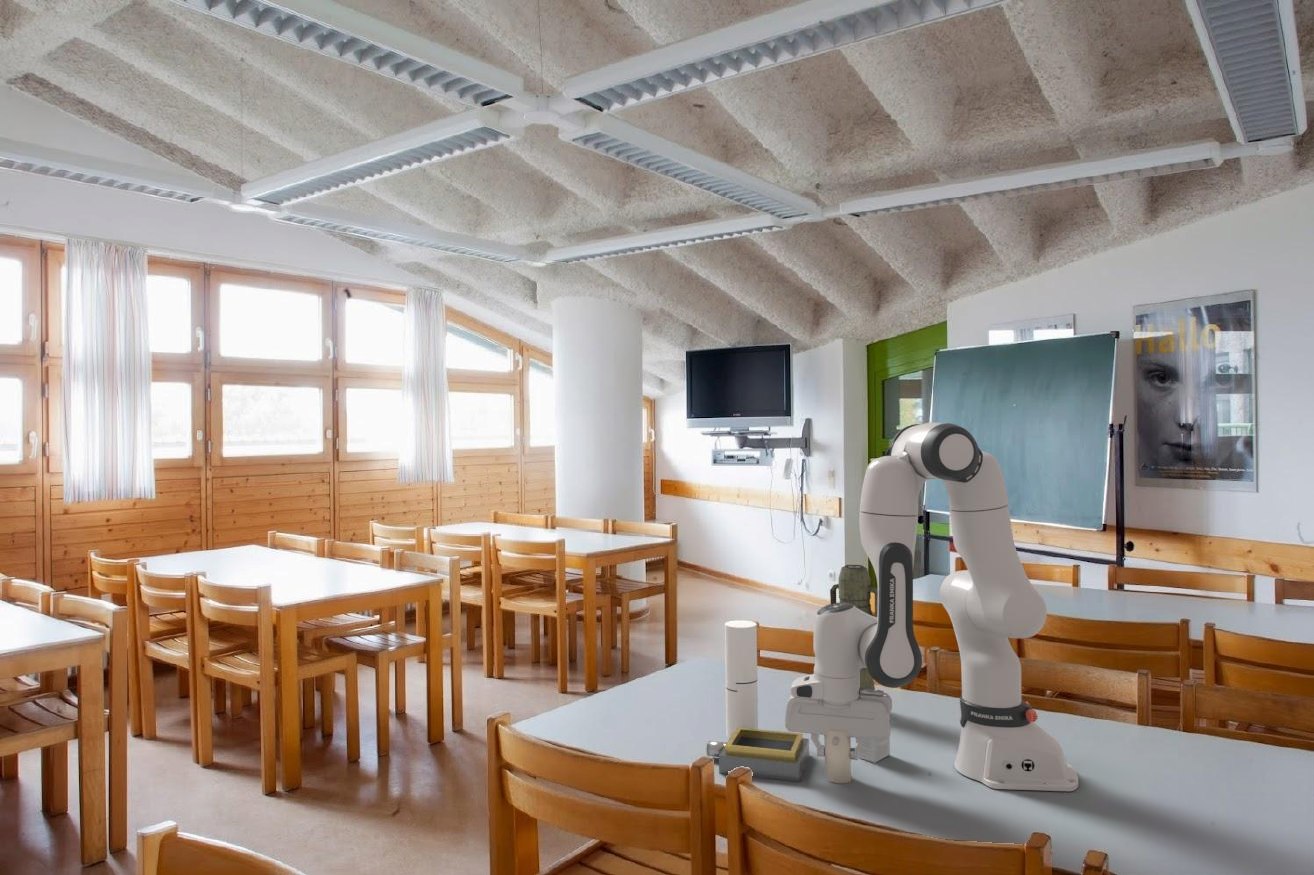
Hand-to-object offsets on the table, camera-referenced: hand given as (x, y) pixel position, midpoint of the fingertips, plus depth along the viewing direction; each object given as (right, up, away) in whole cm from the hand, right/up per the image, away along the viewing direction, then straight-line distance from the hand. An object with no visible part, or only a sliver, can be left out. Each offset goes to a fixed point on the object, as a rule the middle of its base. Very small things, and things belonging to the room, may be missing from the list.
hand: (837, 757), depth 166 cm
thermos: (+13, -4, +40) cm, 42 cm away
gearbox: (-15, -4, +8) cm, 18 cm away
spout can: (0, -4, 0) cm, 4 cm away
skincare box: (+10, -4, +11) cm, 15 cm away
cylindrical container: (-16, -4, +24) cm, 30 cm away
